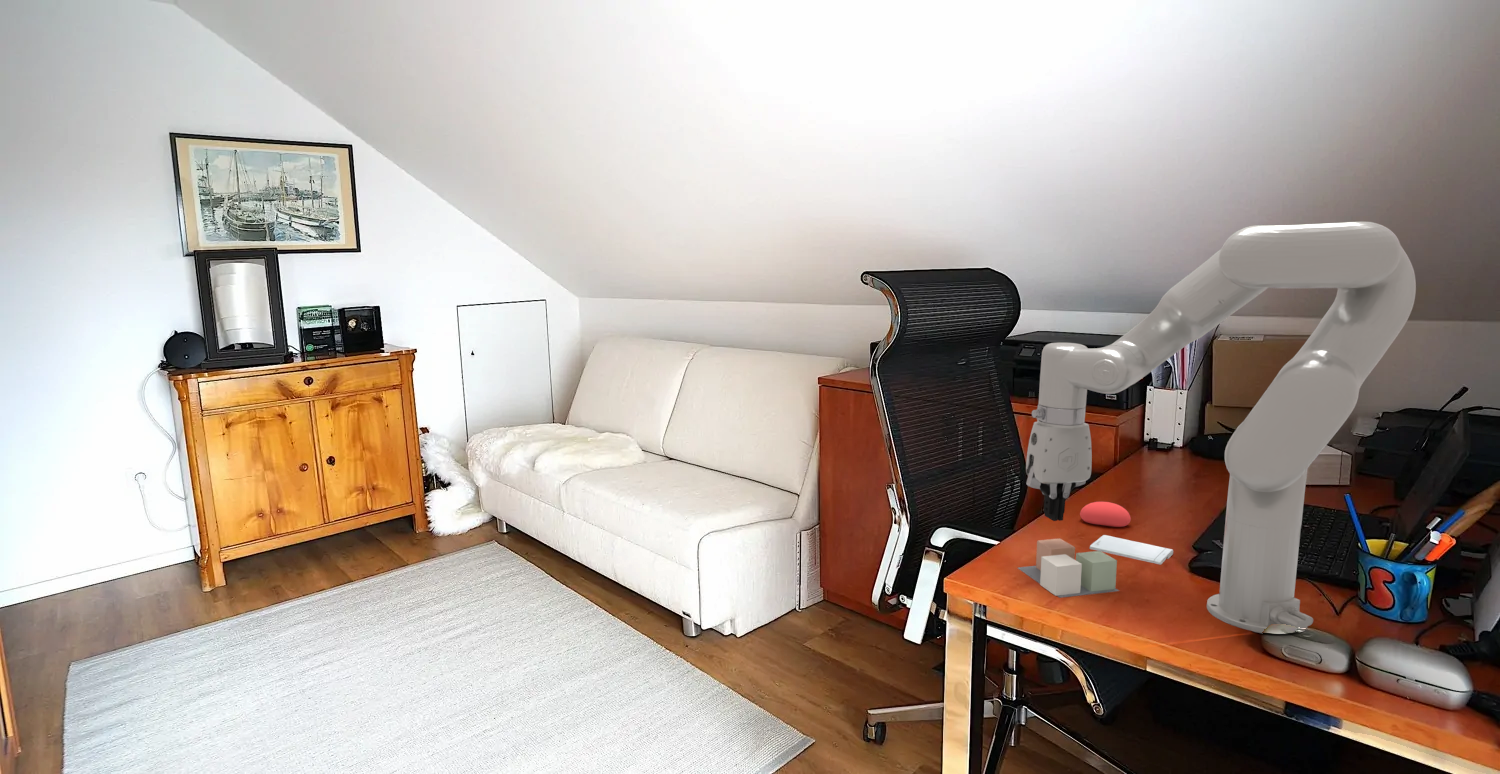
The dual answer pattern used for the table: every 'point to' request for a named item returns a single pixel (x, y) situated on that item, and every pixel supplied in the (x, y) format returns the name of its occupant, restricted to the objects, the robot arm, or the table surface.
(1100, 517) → the stress ball
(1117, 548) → the hard drive
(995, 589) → the table surface
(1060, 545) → the block terracotta
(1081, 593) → the felt mat
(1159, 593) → the table surface
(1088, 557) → the block sage
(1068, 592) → the block cream
